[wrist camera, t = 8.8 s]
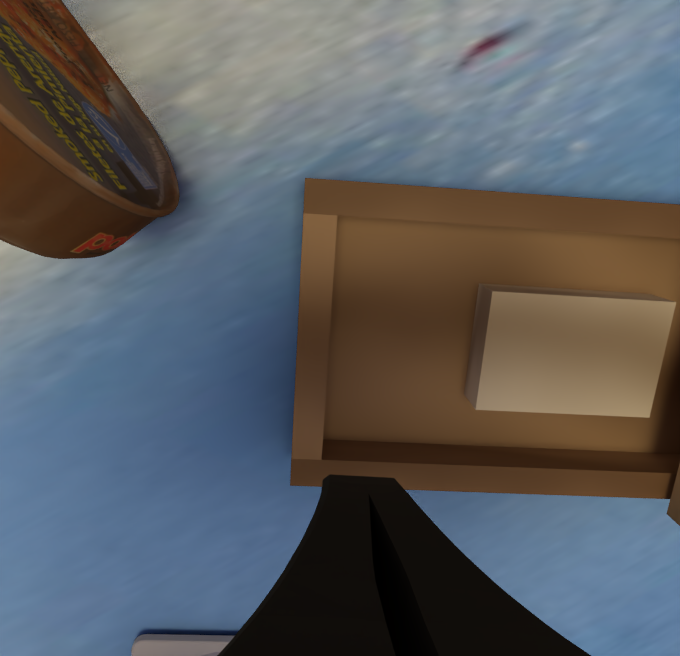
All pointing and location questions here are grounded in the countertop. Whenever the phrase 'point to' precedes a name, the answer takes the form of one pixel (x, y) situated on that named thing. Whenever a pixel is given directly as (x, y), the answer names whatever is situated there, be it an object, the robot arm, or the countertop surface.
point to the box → (488, 341)
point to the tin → (71, 141)
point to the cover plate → (675, 500)
